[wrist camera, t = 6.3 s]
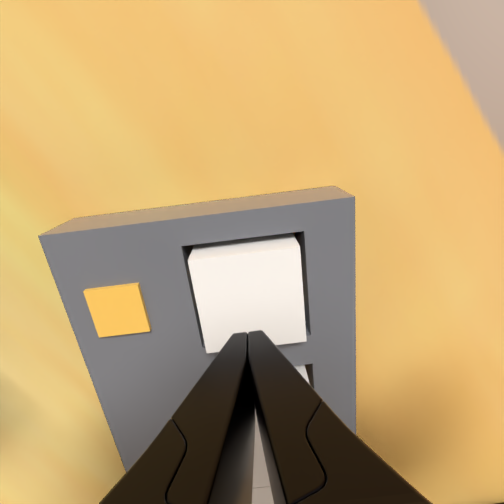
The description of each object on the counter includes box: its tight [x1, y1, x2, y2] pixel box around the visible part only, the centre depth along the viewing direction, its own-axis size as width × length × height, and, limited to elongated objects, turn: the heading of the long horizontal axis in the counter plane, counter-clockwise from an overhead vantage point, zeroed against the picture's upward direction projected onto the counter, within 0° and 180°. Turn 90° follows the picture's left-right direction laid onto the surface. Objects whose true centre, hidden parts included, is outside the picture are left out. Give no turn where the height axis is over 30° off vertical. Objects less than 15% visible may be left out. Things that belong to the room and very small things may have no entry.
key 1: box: [188, 233, 307, 353], centre depth 13 cm, size 4×4×3 cm
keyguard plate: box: [38, 186, 356, 473], centre depth 15 cm, size 18×11×3 cm, turn 7°
